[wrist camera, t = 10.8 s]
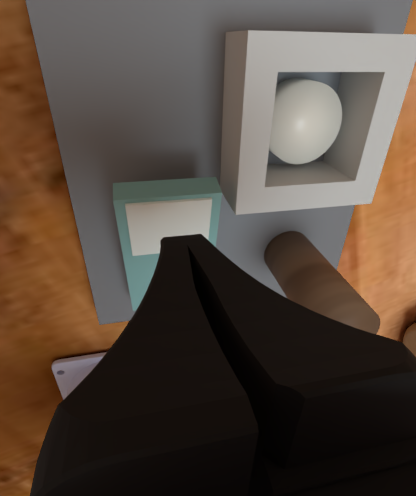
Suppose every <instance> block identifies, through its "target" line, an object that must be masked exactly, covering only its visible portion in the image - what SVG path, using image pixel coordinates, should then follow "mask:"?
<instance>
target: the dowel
mask: <svg viewBox="0 0 416 496" xmlns="http://www.w3.org/2000/svg"><path fill="white" fill-rule="evenodd" d="M264 261H265V263H266V265H267V266H268V268H269V270H270V271H271V273H272V274H273V276H274V278H275V279H276V281H277V282H278V284H279V286H280V287H281V289H282V290H283V292H284V293H285V295H286V297H287V298H288V299H290V300H291V301H293V302H295V303H298V304H300V305H302V306H304V307H306V308H308V309H310V310H312V311H314V312H317V313H319V314H321V315H324V316H326V317H328V318H331V319H333V320H336V321H339V322H341V323H344V324H346V325H349V326H352V327H354V328H357V329H360V330H364V331H367V332H370V333H373V334H376V333H377V332H378V329H379V326H380V318H379V316H378V315H377V314H376V312H375V311H374V310H373V309H372V308H371V307H370V306H369V305H368V304H367V303H366V302H365V300H364V299H363V298H362V297H361V296H360V295H359V294H358V293H357V292H356V291H355V290H354V289H353V287H352V286H351V285H350V284H349V283H348V282H347V281H346V280H345V279H344V278H343V277H342V275H341V274H340V273H339V272H338V271H337V270H336V269H335V268H334V267H333V266H332V265H331V264H330V262H329V261H328V260H327V259H326V258H325V257H324V256H323V255H322V254H321V253H320V252H319V250H318V249H317V248H316V247H315V246H314V245H313V244H312V243H311V242H310V241H309V240H308V239H307V237H306V236H305V235H304V234H302V233H300V232H297V231H288V232H284V233H281V234H279V235H277V236H276V237H275V238H273V239H272V240H271V241H270V242H269V244H268V245H267V247H266V249H265V252H264Z"/></svg>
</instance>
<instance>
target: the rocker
mask: <svg viewBox="0 0 416 496" xmlns="http://www.w3.org/2000/svg"><path fill="white" fill-rule="evenodd" d="M221 198H222V191H221V188H220V186H219V183H218V181H217V178H216V177H203V178H187V179H171V180H154V181H138V182H121V183H113V204H114V209H115V215H116V220H117V226H118V231H119V237H120V242H121V248H122V253H123V259H124V264H125V270H126V275H127V281H128V286H129V292H130V298H131V303H132V309H133V311H136V310H137V308H138V307H139V305H140V303H141V301H142V299H143V297H144V295H145V293H146V291H147V289H148V286H149V284H150V282H151V279H152V277H153V274H154V271H155V268H156V265H157V262H158V258H159V254H160V248H161V245H160V240H161V239H162V238H163V237H172V236H183V235H193V234H202V235H203V236H204V237H205V238H206V239H207V240H208V241H210V242H211V243H212V244H213V245H214V246H215V247H216V240H217V232H218V223H219V215H220V207H221Z"/></svg>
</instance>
